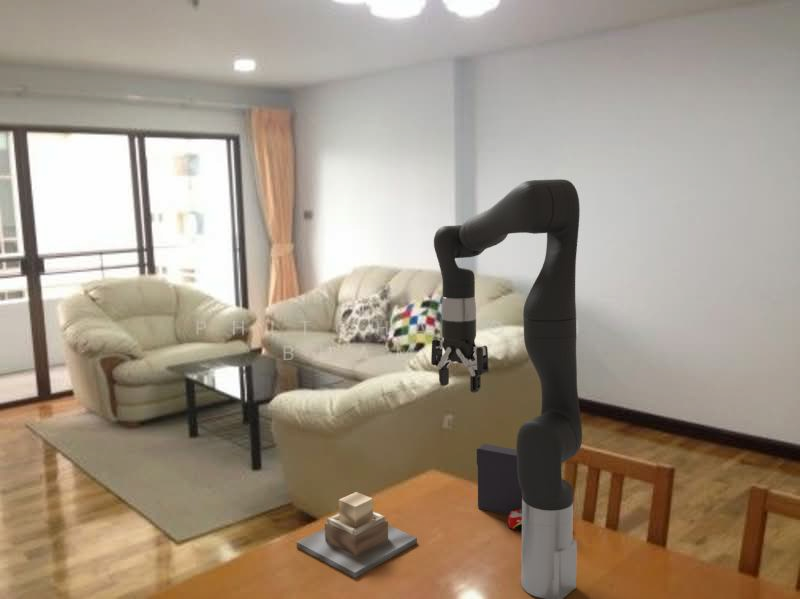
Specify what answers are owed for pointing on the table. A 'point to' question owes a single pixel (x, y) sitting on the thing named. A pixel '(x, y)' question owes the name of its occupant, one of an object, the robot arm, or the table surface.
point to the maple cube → (356, 510)
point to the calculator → (498, 479)
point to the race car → (515, 519)
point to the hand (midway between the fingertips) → (459, 388)
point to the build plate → (361, 559)
